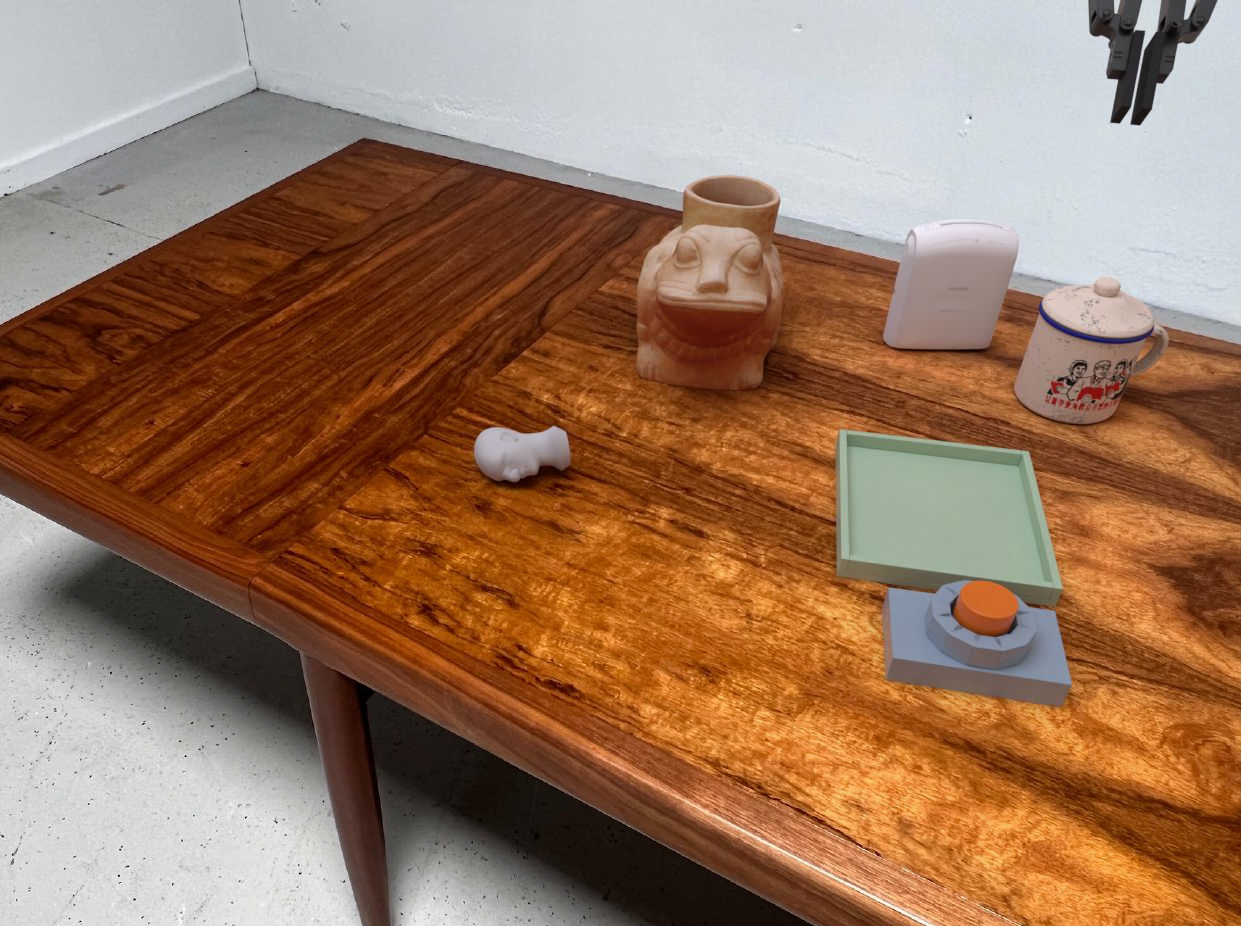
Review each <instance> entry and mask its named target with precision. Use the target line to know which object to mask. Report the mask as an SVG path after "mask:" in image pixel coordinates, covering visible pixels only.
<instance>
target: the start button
mask: <svg viewBox="0 0 1241 926" xmlns="http://www.w3.org/2000/svg"><path fill="white" fill-rule="evenodd" d="M1018 608H1019V604H1018V600H1017V598H1016V597H1015V595H1014V594H1013V593H1012V592H1011V591H1009V590H1008V589H1007V588H1005V587H1003V586H1001V585H999V584H996V583H993V582H989V581H973V582H969V583H967V584H966V585H964V586H963V587H962V589H961V591H960V593H959V596H958V599H957V602H956V604H955V607H954V616H955V619H956V620H957V622H958V623H959V624H960V625H961V626H962V627H964V628H966V629H968V630H970V631H972V632H974V633H976V634H978V635H983V636H990V637H997V636H1001V635H1003V634H1005V633H1007V632H1008V631H1009V630H1010V628H1011V625H1012V623H1013V621H1014V618H1015V616H1016V613H1017V611H1018Z"/></svg>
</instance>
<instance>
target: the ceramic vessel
mask: <svg viewBox="0 0 1241 926" xmlns="http://www.w3.org/2000/svg"><path fill="white" fill-rule="evenodd" d="M780 205H781V196H780V194H779V191H778V190H777V189H776V188H775V187H774V186H772V185H769V184H767V183H766V182H764V181H763V180H760V179H757V178H755V177H749V176H744V175H734V174H733V175H732V174H722V175H710V176H705V177H701V178H700V179H697V180H695V181H693V182H690V183H689V184H688V185H686V187H685V189H684V190H683V195H682V221H681V222H682V223H681V225H679V226H677V227H676V228H674V229H672V230H671V231H670V232H668V234H667V235H665V236H664V237H663V238H662V239H661V240H660V242H659V243H658V244H657V245H655V246H653V247H652V248H651V249H650V250H649V251H648V252H647V254H646V256H645V258H644V260H643V264H642V267H641V271H640V275H639V277H638V281H637V287H636V288H637V289H636V309H637V310H636V312H637V313H636V314H637V319H636V336H637V342H638V346H637V351H636V352H637V353H636V360H635V372H636V374H637V375H638V376H639V377H640V378H643V379H645V380H649V381H654V382H659V383H662V384H667V385H672V386H678V387H685V388H693V389H703V390H704V389H705V390H720V391H721V390H723V391H752V390H756V389H758V388H759V387H760V386H762V383H763V381H764V363H765V358H766V357H767V355H768V353H769V352H770V351H772V350H773V349H774V347H775V345H776V344H777V340H778V335H779V331H780V327H781V323H782V311H783V302H784V299H785V284H784V283H785V282H784V276H783V275H784V274H783V269H782V264H781V257H780V253H779V251H778V249H777V247H776V246H775V245H774V243H773V239H774V233H775V228H776V223H777V220H778V219H777V218H778V215H779V214H778V213H779V211H780V210H779V209H780Z"/></svg>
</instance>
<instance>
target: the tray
mask: <svg viewBox="0 0 1241 926" xmlns="http://www.w3.org/2000/svg"><path fill="white" fill-rule="evenodd" d="M834 447H835V520H836V521H835V529H836V530H835V535H836V536H835V542H836V546H835V547H836V548H835V549H836V554H835V555H836V577H838V578H844V579H845V578H846V579H853V580H858V581H859V580H860V581H868V582H873V583H874V582H875V583H882V584H889V585H895V586H903V587H910V588H917V589H925V590H931V591H938V590H939V589H940V588H941V587H942V586H943V585H946V584H950V583H954V582H958V581H963V580H969V581H989V582H993V583H996V584H999V585H1001V586H1003V587H1005V588H1007V589H1008V590H1009V591H1011V592H1012V593H1013V594H1015V595H1017V596H1018V597H1019V598H1020V599H1021V600H1022V601H1023V602H1024V603H1025V604H1032V605H1038V606H1045V607H1053V608H1055V607H1056V606H1057V604H1058V602H1059V599H1060V597H1061V595H1062V593H1063V590H1064V587H1063V584H1062V583H1063V582H1062V579H1061V575H1060V574H1061V573H1060V571H1059V566H1058V562H1057V558H1056V554H1055V550H1054V546H1053V543H1052V538H1051V534H1050V529H1049V526H1048V522H1047V518H1046V515H1045V510H1044V506H1043V502H1042V498H1041V495H1040V490H1039V486H1038V483H1037V478H1036V473H1035V470H1034V466H1033V461H1032V457H1031V454H1030V451H1029V450H1021V449H1013V448H1005V447H996V446H995V447H994V446H988V445H978V444H969V443H963V442H952V441H945V440H937V439H936V440H935V439H929V438H928V439H927V438H921V437H920V438H919V437H910V436H901V435H893V434H884V433H876V432H868V431H860V430H859V431H858V430H851V429H850V430H849V429H844V428H843V429H842V428H839V430H838V434H837V438H836V441H835V446H834Z"/></svg>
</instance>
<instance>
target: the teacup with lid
mask: <svg viewBox="0 0 1241 926" xmlns="http://www.w3.org/2000/svg"><path fill="white" fill-rule="evenodd" d="M1121 288H1122V285H1121V283H1120V281H1119V280H1118V279H1116V278H1113V277H1108V276H1101V277H1099V278H1097V279H1096V280H1095V282H1094V284H1072V285H1071V284H1070V285H1064V286H1061V287H1057V288H1054V289H1053V290H1051V291H1049V292H1048V293H1047V294H1045V295H1044V297H1043V298H1042V299H1041V301H1040V302H1039V305H1038V316H1037V319H1036V322H1035V325H1034V328H1033V331H1032V333H1031V336H1030V339H1029V342H1028V345H1027V348H1026V350H1025V354H1024V356H1023V360H1022V362H1021V366H1020V367H1019V371H1018V373H1017V376H1016V379H1015V382H1014V385H1013V386H1014V387H1013V390H1014V394H1015V396H1016V398H1017V400H1018V401H1019V402H1020V403H1021V404H1022V405H1023V406H1024V407H1025V408H1027V409H1028V410H1030V411H1032V412H1033V413H1035V414H1037V415H1040V416H1041V417H1045V418H1046V419H1049V420H1051V421H1055V422H1061V423H1064V424H1072V425H1075V424H1076V425H1089V424H1090V425H1091V424H1096V423H1100V422H1103V421H1105V420H1107V419H1109V418H1110V417H1111V416H1113V415H1114V414H1115V412H1116V410H1117V408H1118V406H1119V403H1120V401H1121V399H1122V397H1123V394H1124V391H1125V390H1126V388H1127V385H1128V382H1129V380H1130V378H1131V377H1135V376H1137V375H1141V374H1143V373H1145V372H1146V371H1149V369H1151V368H1152V367H1153V366H1154V365H1156V364H1157V363H1158V362H1159V360H1160V359H1161V358H1162V357H1163V355H1164V354H1165V352H1166V350H1167V348H1168V346H1169V343H1170V338H1169V337H1170V336H1169V334H1168V332H1167V330H1165V329H1164V328H1163V327H1162V326H1161V325H1159V324H1157V323H1155V317H1154V314H1153V312H1152V311H1151V309H1150V308H1149V306H1147V305H1146V304H1145V303H1143V302H1142V301H1141V300H1139V299H1137V298H1135V297H1134V296H1132V295H1129V294H1127V293H1125V292H1124V291H1122V290H1121ZM1152 335H1153V336H1155V340H1154V343H1153V344H1152V347H1151V348H1150V350H1148V351H1147V353H1146V354H1145V355H1144V356H1143V357H1142V358H1140V359H1139V357H1140V355H1141V352H1142V350H1143V348H1144V345H1145V343H1146V340H1147V338H1149V337H1150V336H1152Z"/></svg>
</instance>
